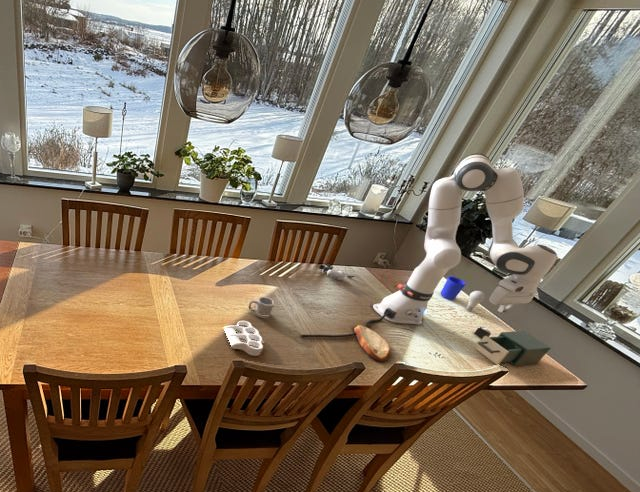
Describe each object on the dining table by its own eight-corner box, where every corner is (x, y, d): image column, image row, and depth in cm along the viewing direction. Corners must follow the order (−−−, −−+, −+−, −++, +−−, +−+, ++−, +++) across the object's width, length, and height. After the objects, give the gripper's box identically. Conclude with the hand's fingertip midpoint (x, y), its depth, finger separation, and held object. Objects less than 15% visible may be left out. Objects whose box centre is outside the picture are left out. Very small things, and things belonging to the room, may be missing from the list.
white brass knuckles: (220, 326, 161) (253, 327, 164) (232, 356, 147) (269, 356, 150) (221, 320, 160) (255, 320, 162) (234, 349, 145) (272, 349, 148)
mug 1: (269, 311, 176) (273, 298, 172) (270, 319, 171) (274, 306, 167) (246, 306, 177) (250, 294, 173) (247, 315, 171) (251, 302, 167)
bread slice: (357, 326, 175) (360, 319, 173) (398, 347, 165) (402, 340, 163) (338, 340, 164) (342, 333, 162) (381, 364, 154) (386, 357, 152)
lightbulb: (477, 314, 198) (490, 296, 192) (464, 312, 199) (477, 293, 192) (471, 308, 203) (484, 290, 197) (459, 305, 204) (471, 287, 198)
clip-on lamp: (341, 276, 221) (315, 269, 215) (346, 266, 219) (321, 258, 213) (354, 285, 211) (328, 278, 205) (360, 275, 209) (334, 267, 203)
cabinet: (514, 365, 165) (527, 349, 160) (489, 347, 174) (501, 332, 169) (537, 363, 169) (551, 347, 164) (511, 345, 178) (524, 330, 173)
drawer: (488, 365, 161) (498, 352, 157) (466, 349, 169) (475, 336, 165) (518, 362, 166) (529, 350, 162) (496, 346, 174) (505, 334, 170)
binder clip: (482, 339, 179) (487, 332, 177) (473, 333, 182) (478, 326, 180) (487, 339, 180) (492, 332, 178) (478, 333, 183) (483, 326, 181)
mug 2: (451, 292, 216) (461, 276, 210) (457, 302, 206) (468, 286, 201) (434, 288, 217) (444, 272, 212) (440, 298, 208) (450, 281, 202)
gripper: (532, 279, 168) (511, 306, 175) (497, 280, 162) (478, 308, 170) (547, 286, 163) (525, 314, 170) (512, 288, 157) (491, 317, 165)
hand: (501, 311), depth 170 cm, fingers closed
